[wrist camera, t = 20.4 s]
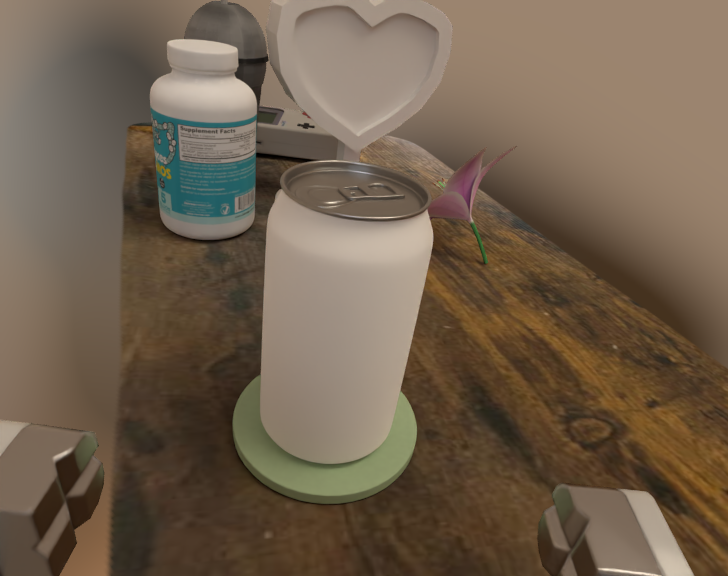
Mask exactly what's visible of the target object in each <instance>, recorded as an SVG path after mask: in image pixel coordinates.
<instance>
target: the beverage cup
mask: <svg viewBox="0 0 728 576" xmlns="http://www.w3.org/2000/svg"><path fill="white" fill-rule="evenodd" d="M184 39H194V40H206V41H214V42H220V43H224V44H228V45H231V46H234V47H236V48H237V50H238V65H239V66H238V67H237V71H236V72H234V74H235V77H236V78H237V79H239V80H241V81H243V82H244V83H245V84H247V85H248V86H249V87H250V88H251V89H252V91H253V92H254V94H255V97H256V100H257V123H258V114H259V103H260V95H261V85H262V84H263V81H264V76H265V72H266V62H267V61H268V54H267V50H266V41H265V37H264V34H263V31H262V29H261V27H260V25H259V23H258V22H257V20H256V19H255V18H254V16H253V15H252V14H251V13H250V12H249V11H248V10H246V9H245V8H244V7H242V6H240V5H239V4H235V3H229V2H227V0H221V1H212V2H209V3H207V4H205V5H203V6H202V7H201V8H199V9H198V10H197V11H196V12H195V13H194V15H193V16H192V17H191V19H190V21H189V23H188V25H187V28H186V31H185V36H184ZM256 133H257V128H256Z"/></svg>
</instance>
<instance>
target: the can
mask: <svg viewBox="0 0 728 576" xmlns="http://www.w3.org/2000/svg"><path fill="white" fill-rule="evenodd" d="M280 184H281V188H282V190H281V192H280V194H279V196H278V197H277V199H276V201H275V202H274V204H273V206H272V208H271V210H270V213H269V216H268V222H267V235H266V255H265V278H264V303H263V329H262V357H261V387H260V417H261V421H262V424H263V426H264V428H265V430H266V432H267V433H268V435H269V436H270V437H271V438H272V440H273V441H274V442H275V443H276V444H277V445H278V446H279V447H281V448H282V449H283V450H285V451H286V452H288V453H289V454H291V455H293V456H295V457H297V458H300V459H302V460H305V461H308V462H312V463H318V464H342V463H347V462H351V461H354V460H357V459H360V458H362V457H365V456H367V455H368V454H370V453H372V452H373V451H375V450H376V449H377V448H378V447H379V446H380V445H381V444H382V443H383V442H384V441H385V439H386V438H387V436H388V434H389V432H390V429H391V426H392V422H393V419H394V415H395V410H396V406H397V402H398V398H399V393H400V389H401V385H402V381H403V376H404V372H405V368H406V363H407V359H408V355H409V350H410V346H411V341H412V337H413V333H414V328H415V324H416V319H417V315H418V311H419V306H420V302H421V297H422V293H423V288H424V284H425V279H426V275H427V270H428V266H429V261H430V256H431V251H432V246H433V230H432V226H431V222H430V218H429V215H428V210H427V209H428V208H429V206H430V204H431V194H430V192H429V191H428V189H427V188H426V187H425V186H424V185H423V184H421V183H420V182H419V181H417V180H416V179H414V178H412V177H410V176H408V175H406V174H404V173H401V172H399V171H396V170H393V169H390V168H387V167H383V166H379V165H375V164H370V163H364V162H357V161H347V160H319V161H311V162H305V163H301V164H298V165H295V166H293V167H291V168H289V169H287V170H286V171H285V172H284V173H283V174H282V176H281V179H280Z"/></svg>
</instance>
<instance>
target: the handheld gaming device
mask: <svg viewBox="0 0 728 576" xmlns="http://www.w3.org/2000/svg"><path fill="white" fill-rule="evenodd" d="M337 148H338V139H337V138H336V137H335V136H333V135H332V134H330V133H329V132H327V131H326V130H324V129H323V128H322V127H320V126H319V125H318V124H317V123H316V122H315V121H314V120H312V119H311V118H310V117H309V116H308V115H307V114H306V113H305V112H304V111H297V110H291V109H285V108H277V107H270V106H263V105H259V114H258V123H257V133H256V153H262V154H270V155H278V156H286V157H294V158H302V159H310V160H318V161H319V160H336V157H337Z"/></svg>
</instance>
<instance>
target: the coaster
mask: <svg viewBox="0 0 728 576" xmlns="http://www.w3.org/2000/svg"><path fill="white" fill-rule="evenodd" d="M260 387H261V374H260V375H259V376H257V377H256V378H255V379H254V380H252V382H251V383H250V384H249V385H248V386H247V387H246V388H245V389H244V391H243V392H242V394H241V395H240V397H239V399H238V401H237V403H236V406H235V410H234V414H233V439H234V443H235V447H236V450H237V452H238V454H239V457H240V458H241V460H242V461H243V463H244V465H245V466H246V467H247V468H248V470H249V471H250V472H251V473H252V474H253V475H254V476H255V477H256V478H257V479H258V480H260V481H261V482H262V483H263V484H265V485H266V486H268V487H269V488H271V489H273V490H274V491H277V492H279V493H281V494H283V495H285V496H288V497H291V498H294V499H297V500H301V501H305V502H310V503H320V504H340V503H347V502H353V501H357V500H360V499H364V498H366V497H369V496H371V495H374V494H376V493H378V492H380V491H381V490H383V489H385V488H386V487H388V486H389V485H390V484H391V483H393V482H394V481H395V480H396V479H397V478H398V477H399V476H400V475H401V474H402V473H403V471H404V470H405V468H406V467H407V465H408V464H409V461H410V459H411V457H412V454H413V450H414V447H415V443H416V436H417V426H416V420H415V416H414V412H413V410H412V408H411V406H410V404H409V402H408V400H407V399H406V397H405V396H404V394H403V393H402V392H401V391H400V393H399V398H398V402H397V406H396V410H395V415H394V419H393V422H392V426H391V429H390V432H389V434H388V436H387V438H386V439H385V441H384V442H383V443H382V444H381V445H380V446H379V447H378V448H377V449H376V450H375V451H373V452H372V453H370V454H368V455H367V456H365V457H362V458H360V459H357V460H354V461H351V462H347V463H342V464H318V463H312V462H308V461H305V460H302V459H300V458H297V457H295V456H293V455H291V454H289V453H288V452H286V451H285V450H283V449H282V448H281V447H279V446H278V445H277V444H276V443H275V442H274V441H273V440H272V438H271V437H270V436H269V435H268V433H267V432H266V430H265V428H264V426H263V424H262V421H261V417H260Z"/></svg>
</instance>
